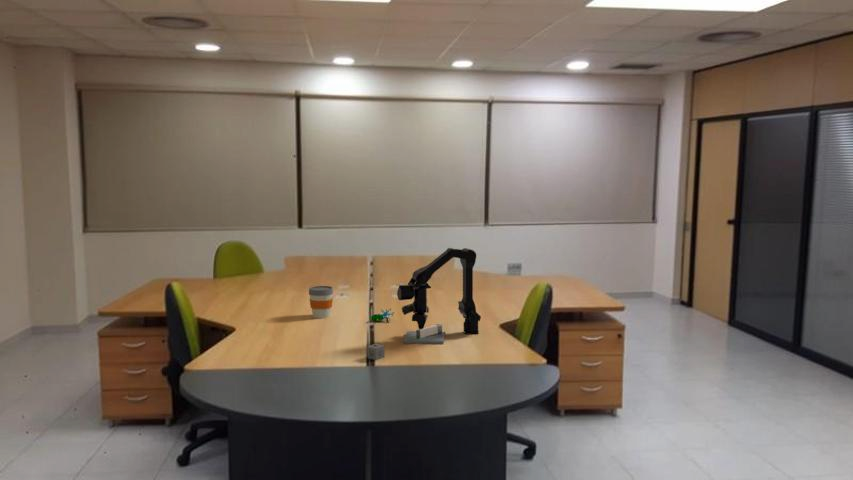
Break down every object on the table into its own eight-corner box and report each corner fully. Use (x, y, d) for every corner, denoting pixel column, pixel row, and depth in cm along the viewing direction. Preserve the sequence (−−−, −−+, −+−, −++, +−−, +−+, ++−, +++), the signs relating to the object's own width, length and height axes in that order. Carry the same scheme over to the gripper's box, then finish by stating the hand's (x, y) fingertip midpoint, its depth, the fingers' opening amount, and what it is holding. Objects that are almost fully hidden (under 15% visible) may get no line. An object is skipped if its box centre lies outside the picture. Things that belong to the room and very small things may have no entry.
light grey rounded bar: (438, 331, 295) (438, 323, 295) (443, 332, 293) (443, 325, 292) (414, 337, 285) (414, 330, 284) (419, 339, 282) (419, 331, 282)
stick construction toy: (394, 314, 325) (391, 305, 320) (397, 324, 320) (394, 315, 315) (371, 322, 324) (368, 312, 319) (374, 332, 319) (371, 322, 314)
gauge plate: (445, 334, 296) (445, 331, 296) (443, 343, 280) (443, 340, 280) (407, 333, 297) (407, 330, 297) (403, 343, 282) (403, 340, 281)
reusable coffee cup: (328, 319, 325) (328, 290, 323) (305, 318, 328) (304, 290, 326) (337, 313, 337) (336, 286, 336) (314, 312, 340) (314, 285, 338)
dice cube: (375, 355, 265) (375, 343, 264) (384, 357, 262) (384, 345, 261) (367, 358, 261) (367, 346, 260) (376, 360, 258) (375, 348, 257)
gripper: (405, 293, 297) (405, 326, 299) (400, 302, 279) (400, 337, 281) (428, 294, 296) (429, 326, 298) (425, 303, 278) (425, 337, 280)
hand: (420, 331), depth 289 cm, fingers closed
